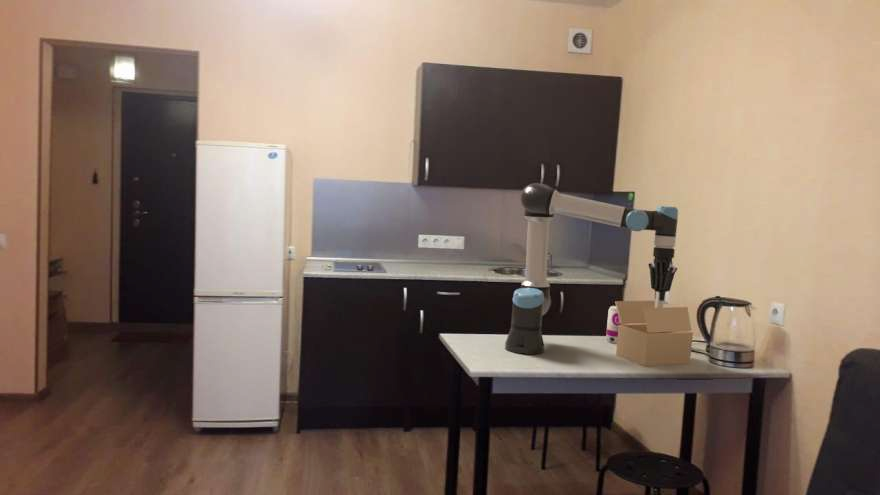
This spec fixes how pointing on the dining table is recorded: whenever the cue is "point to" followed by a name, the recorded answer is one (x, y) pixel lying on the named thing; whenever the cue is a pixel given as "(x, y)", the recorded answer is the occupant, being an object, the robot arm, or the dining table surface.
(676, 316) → the near flap
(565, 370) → the dining table surface
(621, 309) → the far flap
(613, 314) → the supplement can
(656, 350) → the carton
